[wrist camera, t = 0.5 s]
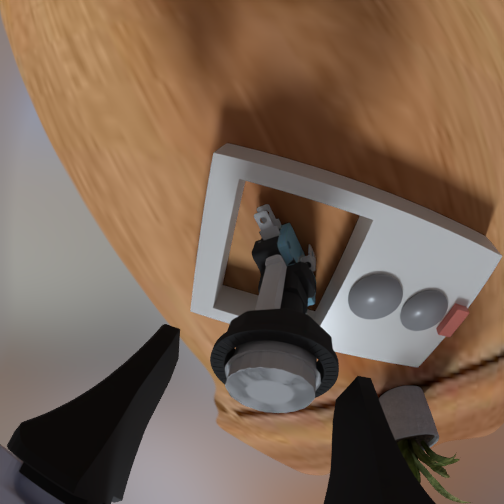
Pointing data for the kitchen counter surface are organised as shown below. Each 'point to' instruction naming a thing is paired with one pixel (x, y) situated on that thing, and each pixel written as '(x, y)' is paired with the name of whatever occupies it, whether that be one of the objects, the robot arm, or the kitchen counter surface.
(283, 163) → the control panel
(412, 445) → the house plant
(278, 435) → the kitchen counter surface
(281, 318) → the push button
